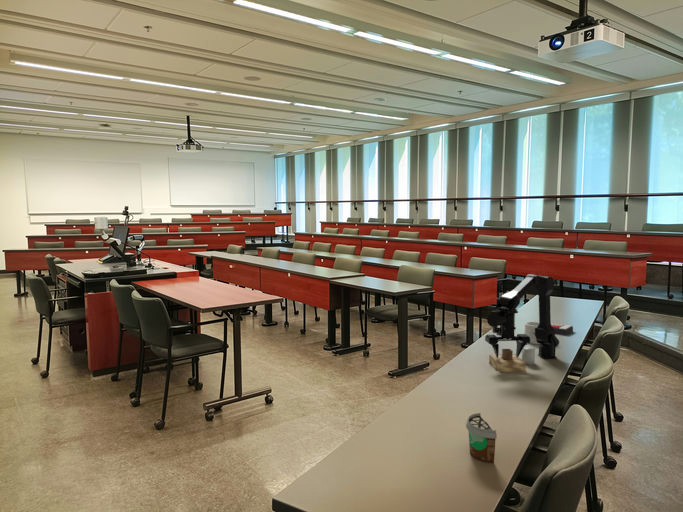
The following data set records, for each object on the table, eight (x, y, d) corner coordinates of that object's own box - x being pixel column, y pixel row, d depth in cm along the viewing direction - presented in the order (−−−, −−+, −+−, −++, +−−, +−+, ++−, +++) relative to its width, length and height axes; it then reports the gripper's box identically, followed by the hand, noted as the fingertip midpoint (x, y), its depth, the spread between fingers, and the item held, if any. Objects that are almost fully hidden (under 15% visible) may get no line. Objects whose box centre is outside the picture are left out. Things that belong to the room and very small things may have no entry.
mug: (524, 343, 245) (524, 325, 244) (524, 338, 255) (524, 320, 254) (552, 346, 240) (552, 327, 239) (551, 340, 250) (551, 322, 249)
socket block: (514, 362, 215) (514, 354, 215) (525, 371, 203) (525, 362, 203) (489, 363, 215) (489, 354, 214) (498, 371, 203) (499, 363, 202)
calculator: (546, 322, 278) (573, 324, 267) (546, 329, 278) (573, 332, 267) (539, 325, 270) (566, 328, 260) (539, 332, 270) (566, 335, 260)
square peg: (509, 365, 211) (509, 348, 210) (512, 368, 207) (512, 351, 206) (501, 366, 210) (502, 348, 210) (504, 368, 207) (505, 351, 206)
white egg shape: (531, 360, 217) (531, 346, 216) (536, 364, 212) (537, 349, 211) (519, 361, 217) (520, 346, 216) (524, 365, 211) (525, 350, 211)
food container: (459, 444, 140) (460, 413, 139) (479, 443, 141) (479, 412, 140) (474, 467, 128) (475, 432, 127) (496, 465, 128) (496, 431, 128)
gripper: (520, 319, 215) (520, 351, 217) (481, 319, 215) (480, 352, 216) (531, 324, 204) (530, 359, 206) (489, 325, 204) (489, 360, 205)
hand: (507, 357), depth 208 cm, fingers open, 9 cm apart
